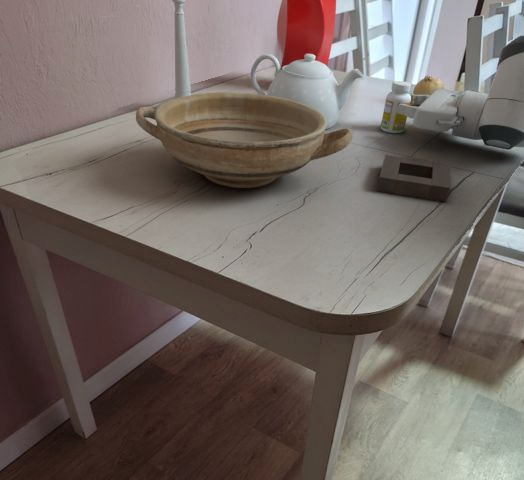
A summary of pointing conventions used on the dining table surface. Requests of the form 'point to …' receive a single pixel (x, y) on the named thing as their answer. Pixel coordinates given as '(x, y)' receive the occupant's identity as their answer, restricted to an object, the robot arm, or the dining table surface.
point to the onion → (428, 86)
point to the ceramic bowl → (241, 136)
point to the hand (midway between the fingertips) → (403, 103)
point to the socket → (415, 178)
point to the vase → (305, 29)
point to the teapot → (309, 85)
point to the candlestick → (180, 55)
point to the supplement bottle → (395, 107)
